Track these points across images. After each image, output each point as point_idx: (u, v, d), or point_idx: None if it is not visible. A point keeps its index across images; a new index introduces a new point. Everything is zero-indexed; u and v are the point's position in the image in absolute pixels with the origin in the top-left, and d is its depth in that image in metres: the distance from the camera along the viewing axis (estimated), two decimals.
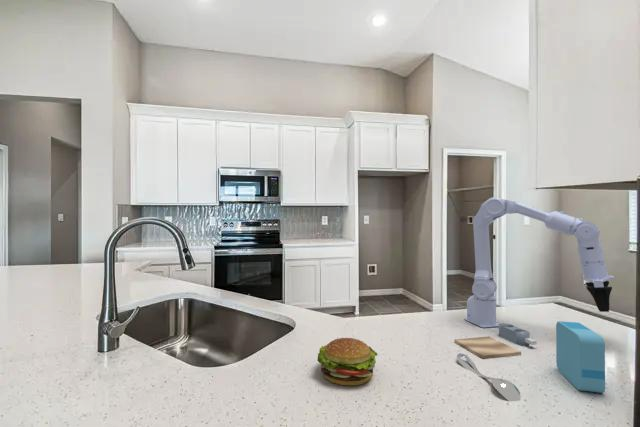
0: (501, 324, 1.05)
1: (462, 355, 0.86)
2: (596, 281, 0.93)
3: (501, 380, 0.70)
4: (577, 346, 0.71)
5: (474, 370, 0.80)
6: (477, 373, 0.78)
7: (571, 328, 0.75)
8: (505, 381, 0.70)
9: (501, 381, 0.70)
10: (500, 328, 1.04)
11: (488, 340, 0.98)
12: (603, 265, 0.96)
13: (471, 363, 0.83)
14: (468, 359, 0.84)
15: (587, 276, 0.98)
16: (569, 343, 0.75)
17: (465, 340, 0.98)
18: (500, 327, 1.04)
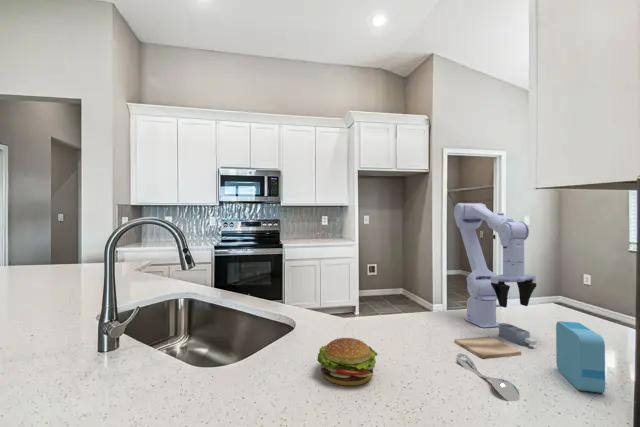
0: (501, 324, 1.05)
1: (462, 355, 0.86)
2: (492, 277, 1.00)
3: (500, 380, 0.70)
4: (577, 346, 0.71)
5: (474, 370, 0.80)
6: (477, 373, 0.79)
7: (571, 328, 0.75)
8: (504, 381, 0.70)
9: (500, 381, 0.70)
10: (500, 328, 1.04)
11: (488, 340, 0.98)
12: (514, 265, 0.99)
13: (471, 363, 0.83)
14: (468, 359, 0.84)
15: None
16: (569, 343, 0.75)
17: (465, 340, 0.98)
18: (500, 327, 1.04)
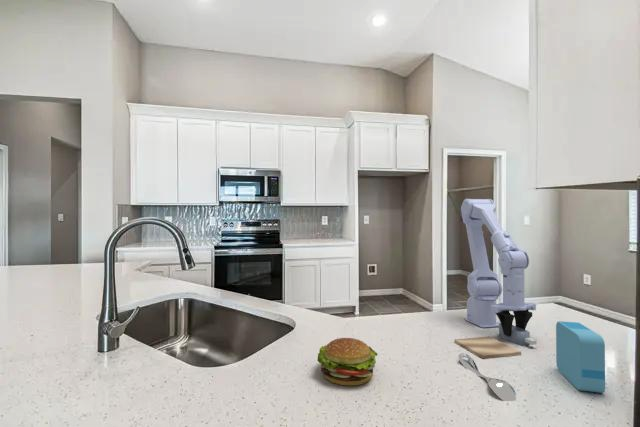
0: None
1: (464, 355, 0.86)
2: (492, 306, 1.00)
3: (497, 380, 0.70)
4: (577, 346, 0.71)
5: (474, 370, 0.80)
6: (477, 373, 0.79)
7: (571, 328, 0.75)
8: (501, 381, 0.70)
9: (496, 381, 0.70)
10: (500, 328, 1.04)
11: (488, 340, 0.98)
12: (514, 295, 0.99)
13: (472, 363, 0.83)
14: (470, 359, 0.84)
15: None
16: (569, 343, 0.75)
17: (465, 340, 0.98)
18: (500, 327, 1.04)
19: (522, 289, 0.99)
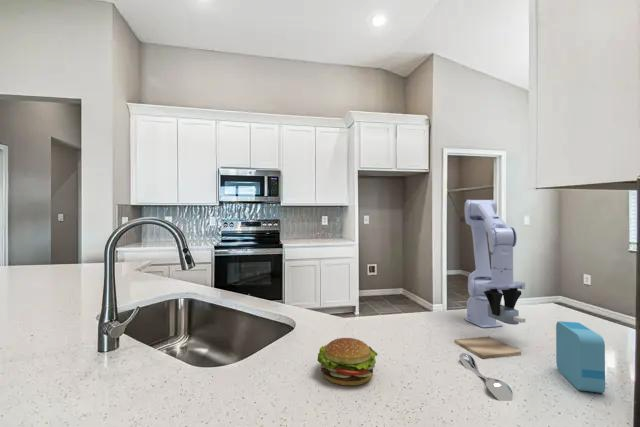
0: None
1: (465, 355, 0.86)
2: (480, 284, 0.97)
3: (494, 379, 0.70)
4: (577, 346, 0.71)
5: (474, 370, 0.80)
6: (476, 373, 0.79)
7: (571, 328, 0.75)
8: (498, 381, 0.70)
9: (494, 380, 0.70)
10: (489, 308, 1.01)
11: (488, 340, 0.98)
12: (502, 273, 0.96)
13: (473, 363, 0.83)
14: (471, 359, 0.84)
15: (491, 280, 1.00)
16: (569, 343, 0.75)
17: (465, 340, 0.98)
18: (489, 307, 1.01)
19: (508, 267, 0.96)
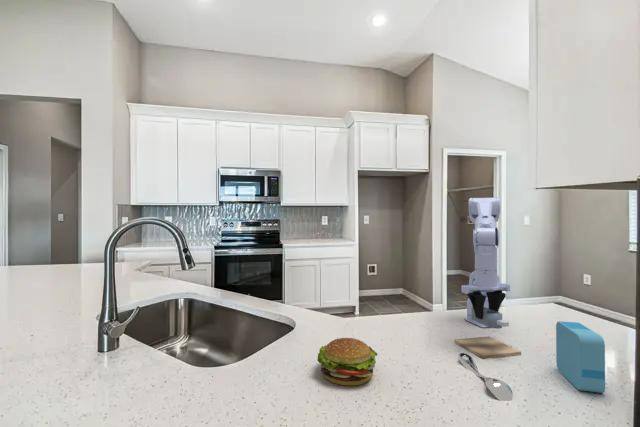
0: None
1: (464, 355, 0.86)
2: (463, 286, 0.93)
3: (494, 379, 0.71)
4: (577, 346, 0.71)
5: (473, 370, 0.80)
6: (475, 373, 0.79)
7: (571, 328, 0.75)
8: (498, 381, 0.70)
9: (494, 380, 0.70)
10: (472, 311, 0.97)
11: (488, 340, 0.98)
12: (486, 274, 0.92)
13: (472, 363, 0.83)
14: (470, 359, 0.84)
15: None
16: (569, 343, 0.75)
17: (465, 340, 0.98)
18: (472, 310, 0.97)
19: (489, 268, 0.92)
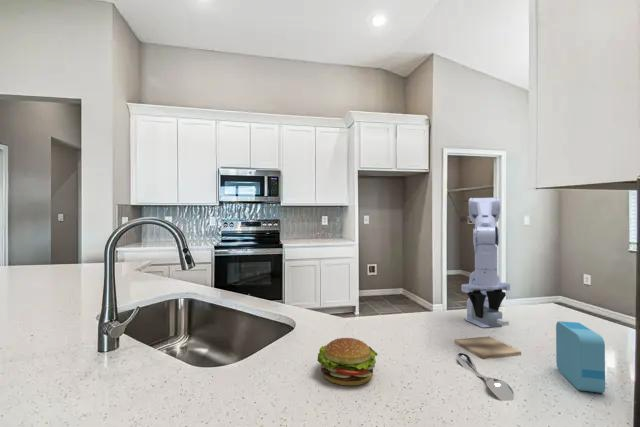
0: None
1: (462, 354, 0.86)
2: (463, 285, 0.93)
3: (495, 379, 0.71)
4: (577, 346, 0.71)
5: (472, 369, 0.80)
6: (475, 372, 0.79)
7: (571, 328, 0.75)
8: (499, 381, 0.70)
9: (494, 380, 0.70)
10: (472, 310, 0.97)
11: (488, 340, 0.98)
12: (486, 273, 0.92)
13: (470, 363, 0.83)
14: (468, 359, 0.84)
15: None
16: (569, 343, 0.75)
17: (465, 340, 0.98)
18: (472, 309, 0.97)
19: (489, 267, 0.92)
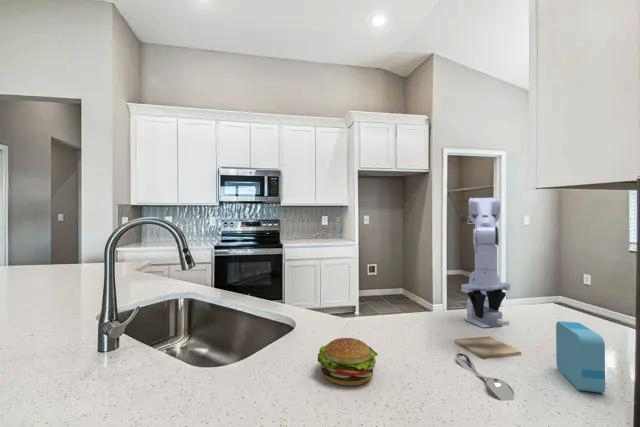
0: None
1: (461, 355, 0.86)
2: (463, 285, 0.93)
3: (495, 379, 0.71)
4: (577, 346, 0.71)
5: (472, 369, 0.80)
6: (474, 372, 0.79)
7: (571, 328, 0.75)
8: (499, 380, 0.70)
9: (495, 380, 0.70)
10: (472, 310, 0.97)
11: (488, 340, 0.98)
12: (486, 273, 0.92)
13: (470, 363, 0.83)
14: (467, 359, 0.85)
15: None
16: (569, 343, 0.75)
17: (465, 340, 0.98)
18: (472, 309, 0.97)
19: (489, 267, 0.92)
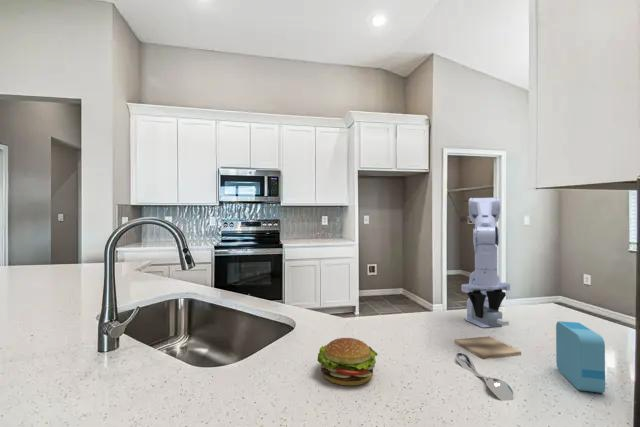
0: None
1: (461, 354, 0.86)
2: (463, 285, 0.93)
3: (495, 379, 0.71)
4: (577, 346, 0.71)
5: (471, 369, 0.80)
6: (474, 372, 0.79)
7: (571, 328, 0.75)
8: (499, 380, 0.70)
9: (494, 380, 0.70)
10: (472, 310, 0.97)
11: (488, 340, 0.98)
12: (486, 273, 0.92)
13: (469, 363, 0.83)
14: (467, 359, 0.85)
15: None
16: (569, 343, 0.75)
17: (465, 340, 0.98)
18: (472, 309, 0.97)
19: (489, 267, 0.92)
